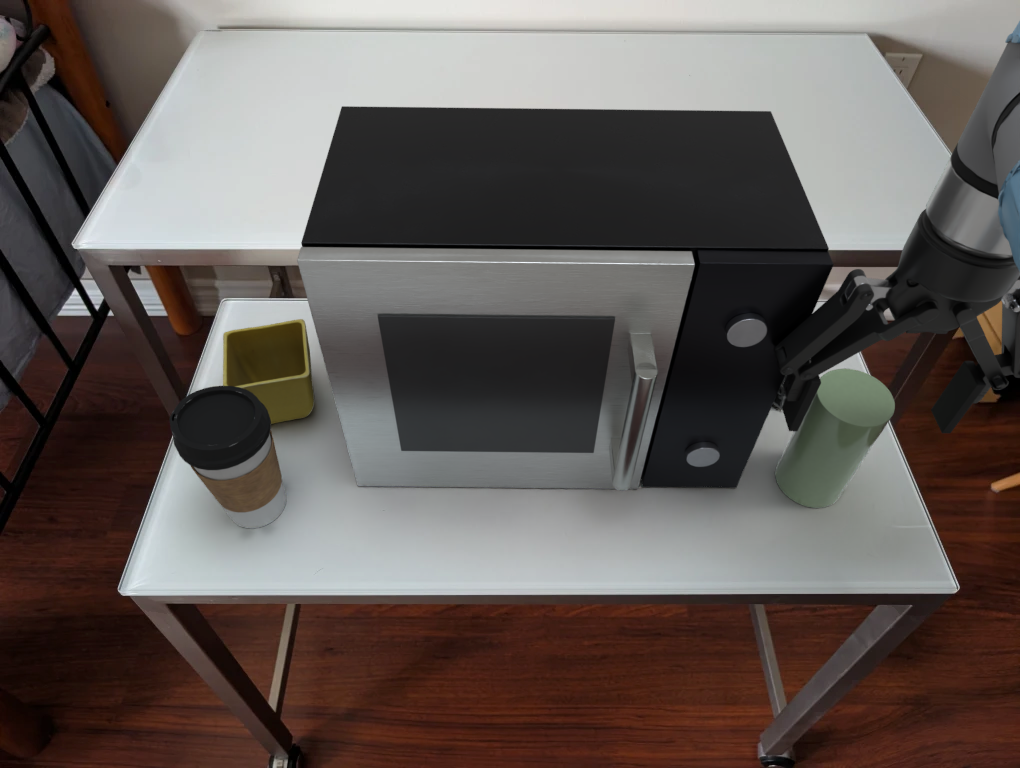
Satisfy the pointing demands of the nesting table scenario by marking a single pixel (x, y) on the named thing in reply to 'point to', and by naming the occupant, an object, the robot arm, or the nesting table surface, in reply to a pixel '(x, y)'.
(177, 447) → the coffee cup
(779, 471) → the canister
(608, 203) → the microwave
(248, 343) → the flower pot
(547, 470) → the microwave door
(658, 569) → the nesting table surface
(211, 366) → the nesting table surface
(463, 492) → the nesting table surface
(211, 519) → the nesting table surface
